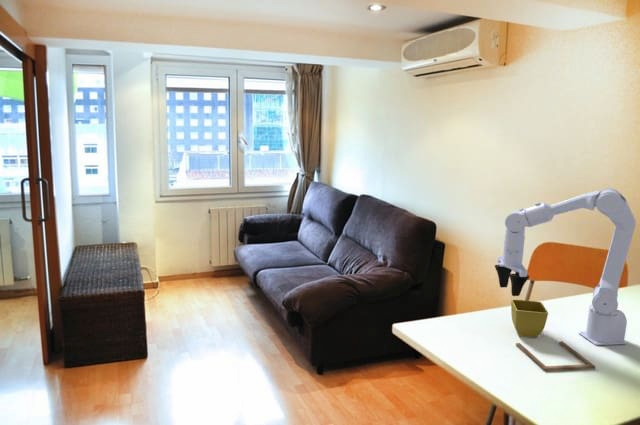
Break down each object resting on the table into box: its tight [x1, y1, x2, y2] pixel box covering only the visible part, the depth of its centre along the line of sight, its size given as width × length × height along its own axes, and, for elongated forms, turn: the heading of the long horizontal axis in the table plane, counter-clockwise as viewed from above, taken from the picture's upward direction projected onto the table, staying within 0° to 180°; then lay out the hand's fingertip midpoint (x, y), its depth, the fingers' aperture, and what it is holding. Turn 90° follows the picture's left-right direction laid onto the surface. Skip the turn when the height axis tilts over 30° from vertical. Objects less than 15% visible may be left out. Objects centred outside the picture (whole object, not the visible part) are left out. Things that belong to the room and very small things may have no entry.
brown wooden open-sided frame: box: [515, 340, 596, 372], centre depth 130 cm, size 14×14×1 cm
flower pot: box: [510, 299, 549, 339], centre depth 143 cm, size 9×9×9 cm
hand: (509, 291), depth 153 cm, fingers open, 7 cm apart
